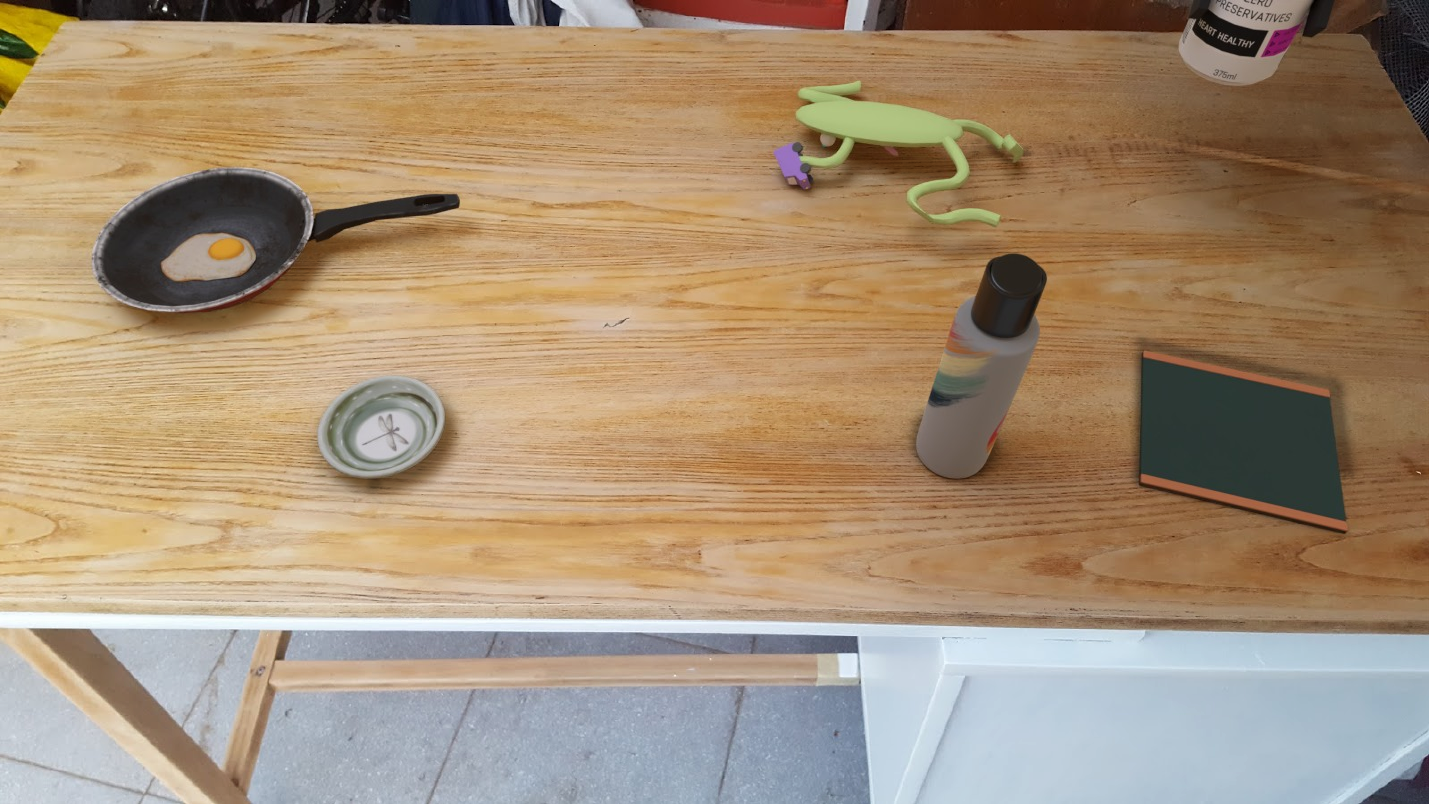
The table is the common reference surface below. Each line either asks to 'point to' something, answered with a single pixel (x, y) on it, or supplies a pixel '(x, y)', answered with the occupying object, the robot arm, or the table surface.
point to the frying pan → (223, 237)
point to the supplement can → (1241, 39)
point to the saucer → (381, 427)
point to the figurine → (886, 142)
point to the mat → (1240, 441)
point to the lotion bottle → (981, 367)
